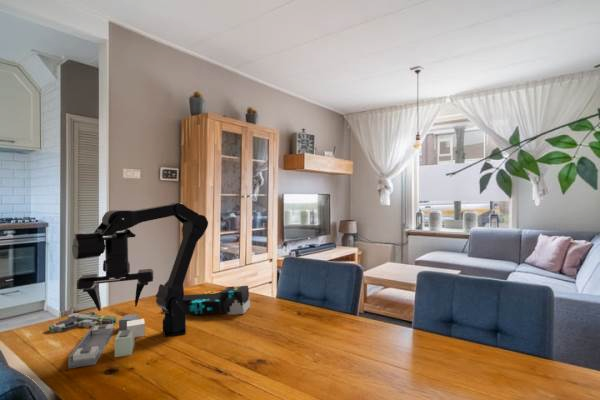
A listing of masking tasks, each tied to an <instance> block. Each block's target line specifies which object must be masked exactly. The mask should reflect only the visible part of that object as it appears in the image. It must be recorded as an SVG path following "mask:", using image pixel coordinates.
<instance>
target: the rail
mask: <svg viewBox="0 0 600 400" xmlns="http://www.w3.org/2000/svg"><path fill="white" fill-rule="evenodd" d="M114 333H115V327H114V325H113V324H103V325H98V326H96V325H93V326H91V327H90V328H89V330H88V331H87V332H86V334H85V335H84V336H83V337H82V339H81V340H80V341H79V342H78V344H77V345H76V346H75V347H74V348H73V350H72V351H71V353H70V354H69V355H68V357H67V358H68V359H67V364H68V367H67V368H68V369H74V368H80V367H88V366H95V365H96V364H97V362H98V361H99V358H100V357H101V356H102V354H103V352H104V350H105V349H106V348H107V345H108V344H109V342H110V340H111V338H112V337H113V335H114Z"/></svg>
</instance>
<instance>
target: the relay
mask: <svg viewBox="0 0 600 400" xmlns="http://www.w3.org/2000/svg"><path fill="white" fill-rule="evenodd" d="M133 329H134V333H135V338H139V337H145V336H146V324H145V318H140V319H139V318H138V320H132V321H127V330H133Z"/></svg>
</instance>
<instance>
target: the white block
mask: <svg viewBox="0 0 600 400" xmlns="http://www.w3.org/2000/svg"><path fill="white" fill-rule="evenodd" d="M138 319H139V314H136V313H135V314H125V315H124V316H122V317H121V318H120V319H118V332H119V331H123V330H127V321H132V320H138Z"/></svg>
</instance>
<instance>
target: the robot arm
mask: <svg viewBox="0 0 600 400" xmlns="http://www.w3.org/2000/svg"><path fill="white" fill-rule="evenodd" d="M168 217H175V218H176V220H178V222H180V223H181V224H182V227H181V234H182V240H181V243H180V245H179V249H178V251H177V254H176V258H175V260H174V263H173V266H172V268H171V272H170V275H169V277H168V280H166V282H165V283H164V284H159V286H158V291H157V293H156V294H155V295H154V297H155V298H156V299H155V303H156V305H157V306H158V307H159V308H160V309H161V310H162V312H163V313H164V317H163V318H162V333H164V334H163V337H171V336H178V335H186V333H187V325H186V324H187V323H186V315H188V314H190V311H189V310H190V307H189V306H188V305H186V304H185V303H184V302H183V297H184V295H185V290H184V282H185V280H186V276H187V274H188V270H189V268H190V265H191V261H192V258H193V255H194V252H195V249H196V246H197V243H198V241H199V240H200V239H201V238H202V237H203V236H204V234H205V232H206V231H207V229H208V227H209V220H208V218H207V217H206V216H205V215H204V214H203V215H202V214H199V213H198V212H196V211H194V210H192V209H191V208H189V207H188V206H186V205H185V204H183V203H181V202H172V203H170V204H169V203H168V204H163V205H157V206H151V207H147V208H140V209H136V210H135V209H134V210H133V209H132V210H131V209H130V210H129V209H125V210H124V209H123V210H121V209H120V210H119V209H118V210H116V209H115V210H113V209H112V210H108V211H106V212H105V213H104V215H102V218H101V222H100V224H99V225H98V227H97V228H96V229H95V230H94V231H93V232H89V233H79V232H78V233H75V234H74V238H73V241H72V245H71V253H72V257H73V259H74V260H84V259H90V258H97V257H100V256H101V255H102V254H104V253H105V254H104V255H105V256H104V257H105V260H103V263H102V270H103V272H104V273H105V276H104V275H103V276H98V273H89V274H83V275H82V276H81V277H79V278H78V279H77V281H76V289H77V290H82V292H83V293H85V292H86V293H87V294H88V295H89V296H90V298H91V299H92V301H93V303H94V305H95V307H96V308H97V311H98V312H100V311H102V303H101V296H100V284H107V283H117V282H118V283H119V282H124V281H125V282H126V281H127V282H128V281H135V280H137V284H136V288H135V297H134V306H135V307H138V303H139V301H140V300H139V299H140V296H141V293H142V291H143V289H144V287H145V286H148V285H149V283H151V282H153V281H154V270H153V269H152V268H145V269H138V271H137V272H136V273H135V272H134V273H131V268H130V267H131V265H130V261H129V243H128V242H129V239H128V238H135V237H136V236H137V235H136V234H135V233H134V232H133V231H131V229H130V228H133V227H135V226H137V225H139V224H141V223H145V222H149V221H150V222H151V221H153V220H158V219H162V218H163V219H164V218H168Z"/></svg>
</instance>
